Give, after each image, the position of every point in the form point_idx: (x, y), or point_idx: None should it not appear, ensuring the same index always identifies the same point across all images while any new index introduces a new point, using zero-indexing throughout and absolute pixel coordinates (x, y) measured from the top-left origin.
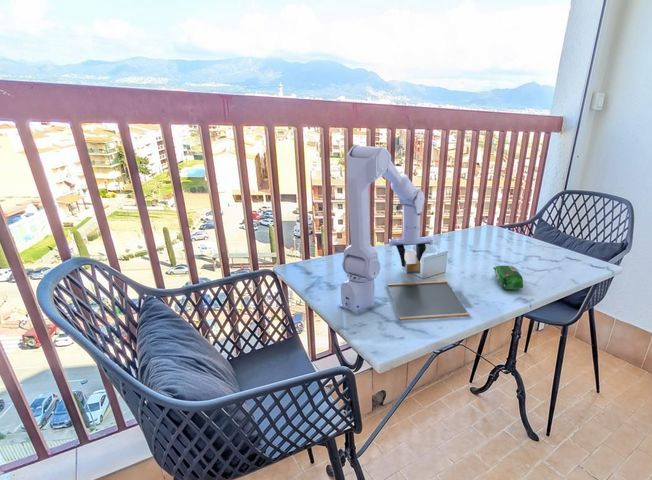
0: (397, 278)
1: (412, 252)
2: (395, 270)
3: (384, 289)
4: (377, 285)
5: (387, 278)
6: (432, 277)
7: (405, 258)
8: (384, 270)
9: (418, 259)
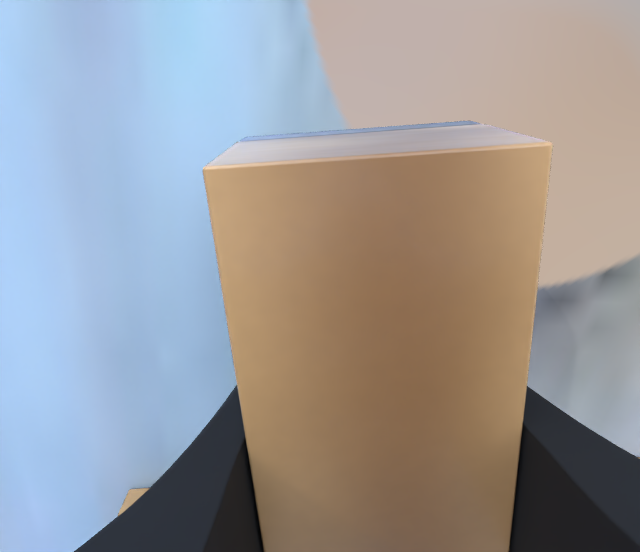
0: (217, 309)
1: (507, 202)
2: (189, 39)
3: (105, 522)
4: (30, 453)
5: (106, 304)
6: (606, 300)
7: (285, 534)
8: (31, 30)
9: (517, 549)
